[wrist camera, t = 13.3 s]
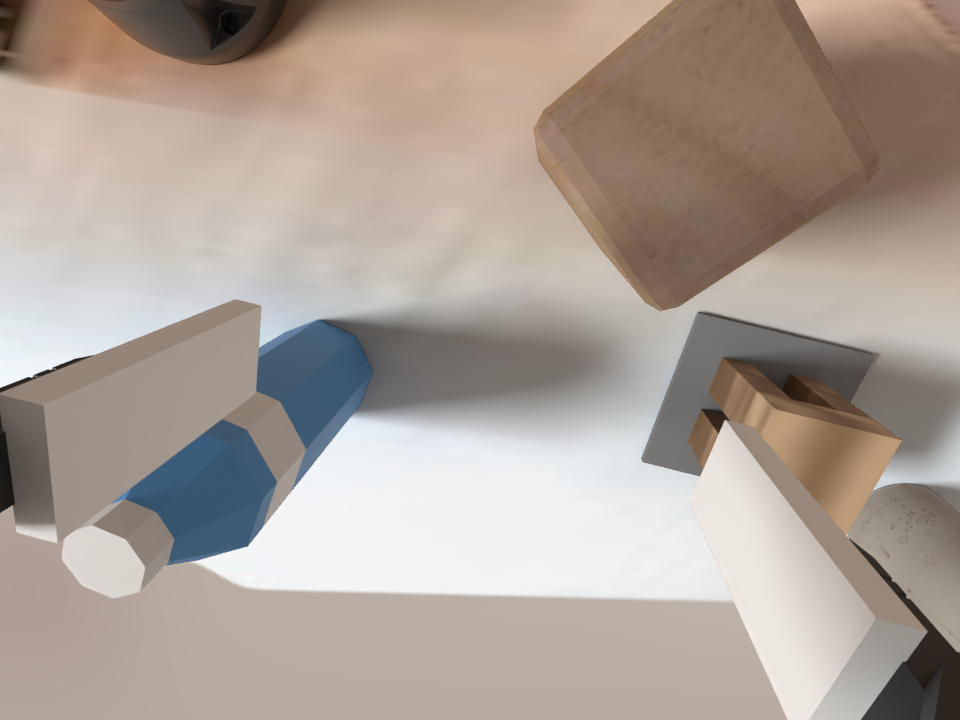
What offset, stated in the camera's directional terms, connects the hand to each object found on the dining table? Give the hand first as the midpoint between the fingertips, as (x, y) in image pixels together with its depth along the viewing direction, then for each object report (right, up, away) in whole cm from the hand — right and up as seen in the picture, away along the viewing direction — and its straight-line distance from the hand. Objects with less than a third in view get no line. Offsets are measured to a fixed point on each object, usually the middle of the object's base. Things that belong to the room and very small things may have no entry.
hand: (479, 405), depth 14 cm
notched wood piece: (+23, -3, +28) cm, 37 cm away
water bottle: (-14, 0, +32) cm, 35 cm away
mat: (+23, -3, +29) cm, 37 cm away
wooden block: (+11, +16, +24) cm, 31 cm away
